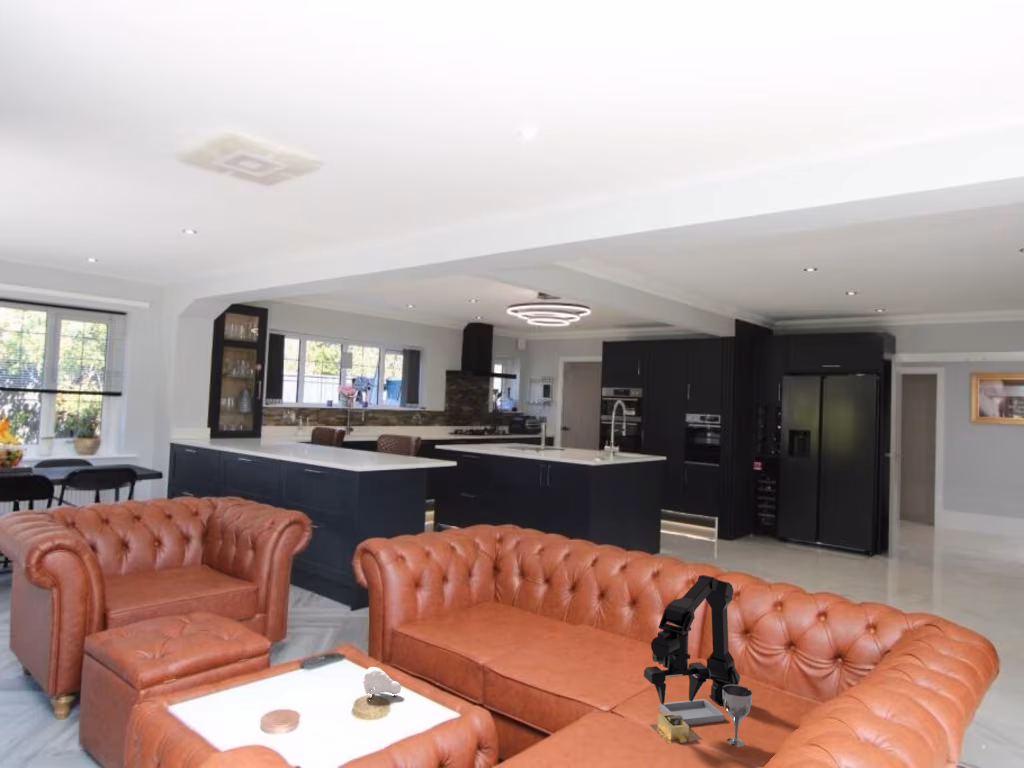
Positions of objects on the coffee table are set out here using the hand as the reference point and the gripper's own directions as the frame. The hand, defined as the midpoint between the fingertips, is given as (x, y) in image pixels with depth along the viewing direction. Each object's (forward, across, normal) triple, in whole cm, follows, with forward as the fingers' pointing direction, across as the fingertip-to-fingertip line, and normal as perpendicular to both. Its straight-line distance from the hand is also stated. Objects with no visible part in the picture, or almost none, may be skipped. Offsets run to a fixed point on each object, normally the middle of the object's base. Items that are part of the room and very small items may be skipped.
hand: (676, 702), depth 200 cm
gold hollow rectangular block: (+8, +1, 0) cm, 8 cm away
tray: (+9, -10, -8) cm, 16 cm away
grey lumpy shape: (+9, +80, -42) cm, 91 cm away
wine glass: (+9, -14, +9) cm, 19 cm away
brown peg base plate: (+9, 0, 0) cm, 9 cm away
